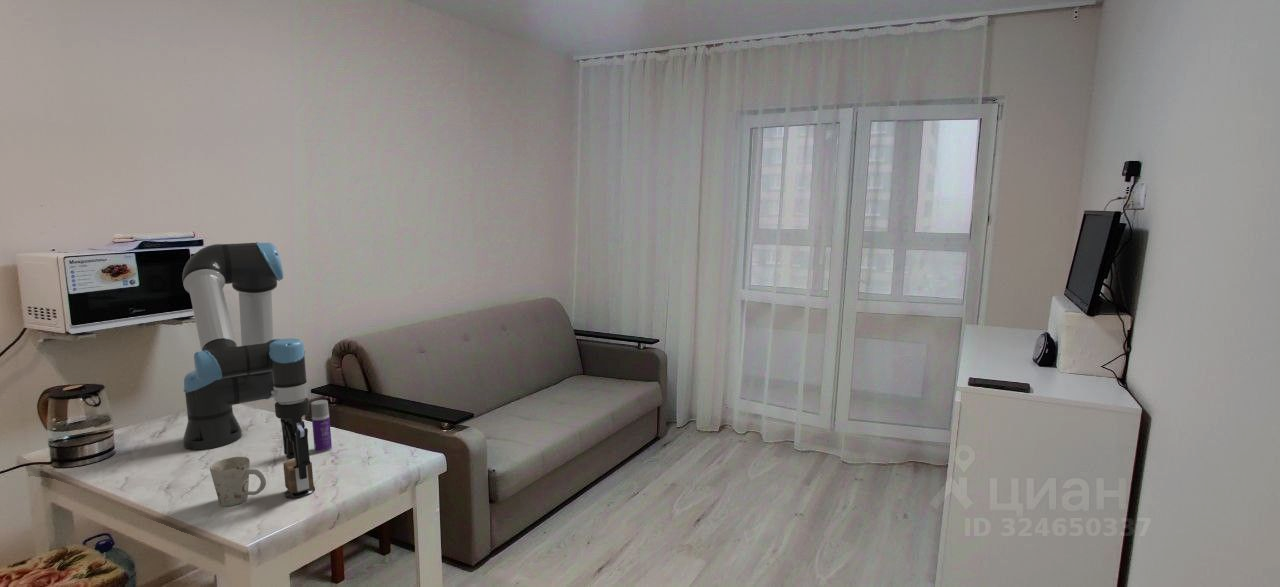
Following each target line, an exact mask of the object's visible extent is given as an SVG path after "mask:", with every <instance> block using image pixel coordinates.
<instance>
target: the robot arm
mask: <svg viewBox="0 0 1280 587" xmlns="http://www.w3.org/2000/svg"><path fill="white" fill-rule="evenodd" d="M280 257H281V256H280V254H279V251H278V249H277V247H276V246H275V245H274V243H271V242H258V241H256V242H242V243H241V242H240V243H224V244H223V243H215V244H211V245H207V246H205V247H202V248H201V249H199V250H198V251H197V252H195V253H194V254H193V255H191V257H190V258H189V259H188V260H187V262H186V263H185V265H184V268H183V270H182V271H183V272H182V277H181V278H182V279H181V280H182V284H183V287H184V290H185V291H186V292H187V293H188V294H189V296H190V301H191V306H192V311H193V315H194V320H195V325H196V330H197V336H198V339H199V344H200V349H201V350H200V351H196V352H195V353H194V355H193V358H194V359H193V363H194V369H195V370H192V371H190V372H189V373H187V374H186V375H185V376H184V378H183V393H184V394H185V404H186V415H187V424H186V428H185V432H184V435H183V437H182V439H183V447H184V448H186V449H188V450H197V451H199V450H208V449H209V450H210V449H213V448H219V447H223V446H226V445H229V444H232V443H234V442H236V441H238V440H239V439H241V437H242V436H243V433H242V428H241V425H240V424H239V422H238V420H237V418H236V417H235V414H234V411H233V410H234V409H233V406H234V405H239V404H244V403H245V404H246V403H249V402H255V401H261V400H269V399H271V398H274V401H275V403H274V413H275V417H276V418H277V419H280V424H281V430H282V431H281V432H282V444H283V454H284V455H285V457H286V459H287V462H288V461H291V460H295V462H296V466H293V468H294V469H295V475H296V486H297V491H298V492H299V491H302V490H305V489H309V479H308V468H307V465H310V462H311V459H310V448H309V440H308V439H309V438H308V436H309V433H308V432H309V429H308V428H307V427H306V425H305V422H304V420H303V416H306V415H307V414H309V412H310V404H309V401H310V400H309V398H308V397H309V392H308V391H309V389H308V388H309V387H308V380H307V370H306V369H307V368H306V358H305V354H306V350H305V348H304V342H303V341H302V340H301V339H299V338H295V337H294V338H290V337H289V338H288V337H287V338H274V329H273V327H274V326H273V325H274V324H273V299H272V297H273V294H272V293H273V292H274V290H276V288H278V287H277V286H278V281H282V280H283V279H284V272H283V271H284V270H283V265H282V260H281V258H280ZM230 284H231V286H232V288H233V290H235V291H236V292H237V293H238V301H239V302H238V304H239V322H240V342H241V346H237V341H236V337H235V332H234V329H233V325H232V321H231V317H230V313H229V312H230V311H229V308H228V305H227V300H226V297H225V296H226V295H225V292H224V289H223V288H224V287H225V285H230ZM272 291H273V292H272Z"/></svg>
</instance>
